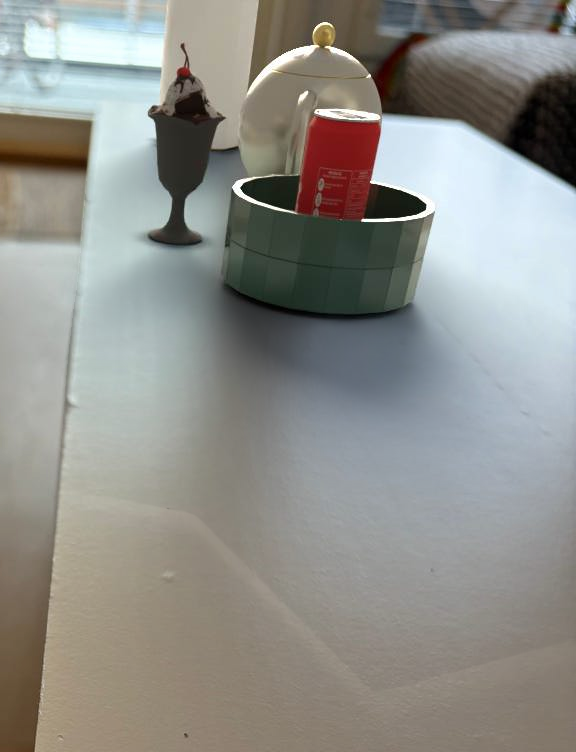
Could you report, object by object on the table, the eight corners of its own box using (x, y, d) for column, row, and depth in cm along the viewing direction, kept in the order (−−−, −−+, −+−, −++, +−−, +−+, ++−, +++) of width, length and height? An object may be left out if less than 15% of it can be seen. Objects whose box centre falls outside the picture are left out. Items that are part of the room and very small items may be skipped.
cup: (206, 133, 134) (223, -30, 123) (257, 148, 126) (281, -24, 115) (139, 136, 129) (151, -33, 118) (188, 153, 121) (206, -26, 110)
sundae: (162, 223, 92) (178, 39, 83) (224, 237, 89) (247, 47, 81) (124, 236, 88) (136, 43, 79) (187, 251, 85) (208, 52, 76)
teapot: (240, 190, 106) (264, 11, 96) (367, 205, 103) (404, 23, 93) (209, 228, 92) (233, 24, 82) (354, 247, 89) (397, 38, 79)
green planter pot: (382, 265, 85) (401, 178, 80) (437, 324, 73) (464, 225, 68) (209, 258, 84) (220, 169, 80) (236, 316, 72) (250, 215, 67)
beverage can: (307, 294, 75) (338, 121, 68) (271, 275, 79) (298, 108, 72) (362, 289, 77) (398, 120, 70) (325, 270, 81) (355, 108, 73)
